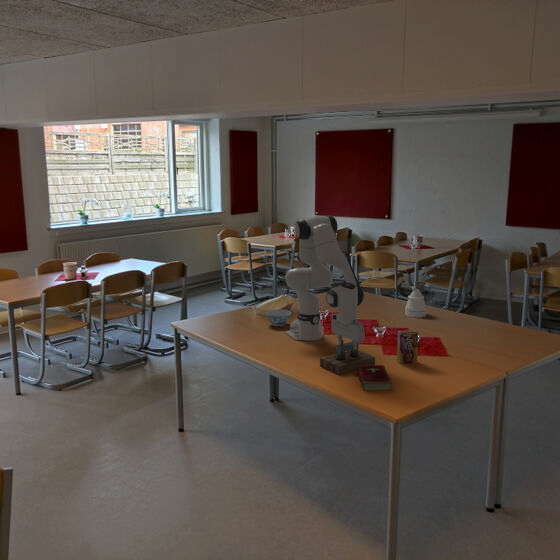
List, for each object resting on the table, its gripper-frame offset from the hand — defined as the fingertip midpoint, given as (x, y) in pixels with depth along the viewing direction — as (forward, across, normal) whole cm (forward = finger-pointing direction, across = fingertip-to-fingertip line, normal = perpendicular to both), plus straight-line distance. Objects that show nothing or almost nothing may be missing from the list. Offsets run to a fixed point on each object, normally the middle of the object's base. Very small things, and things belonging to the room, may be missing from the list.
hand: (347, 346), depth 263 cm
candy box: (+10, -13, -26) cm, 31 cm away
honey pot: (+10, +47, -95) cm, 106 cm away
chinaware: (+10, +78, -12) cm, 80 cm away
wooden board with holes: (+9, 0, 0) cm, 9 cm away
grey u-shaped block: (+9, 0, 0) cm, 9 cm away
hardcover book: (+10, -22, +4) cm, 24 cm away
